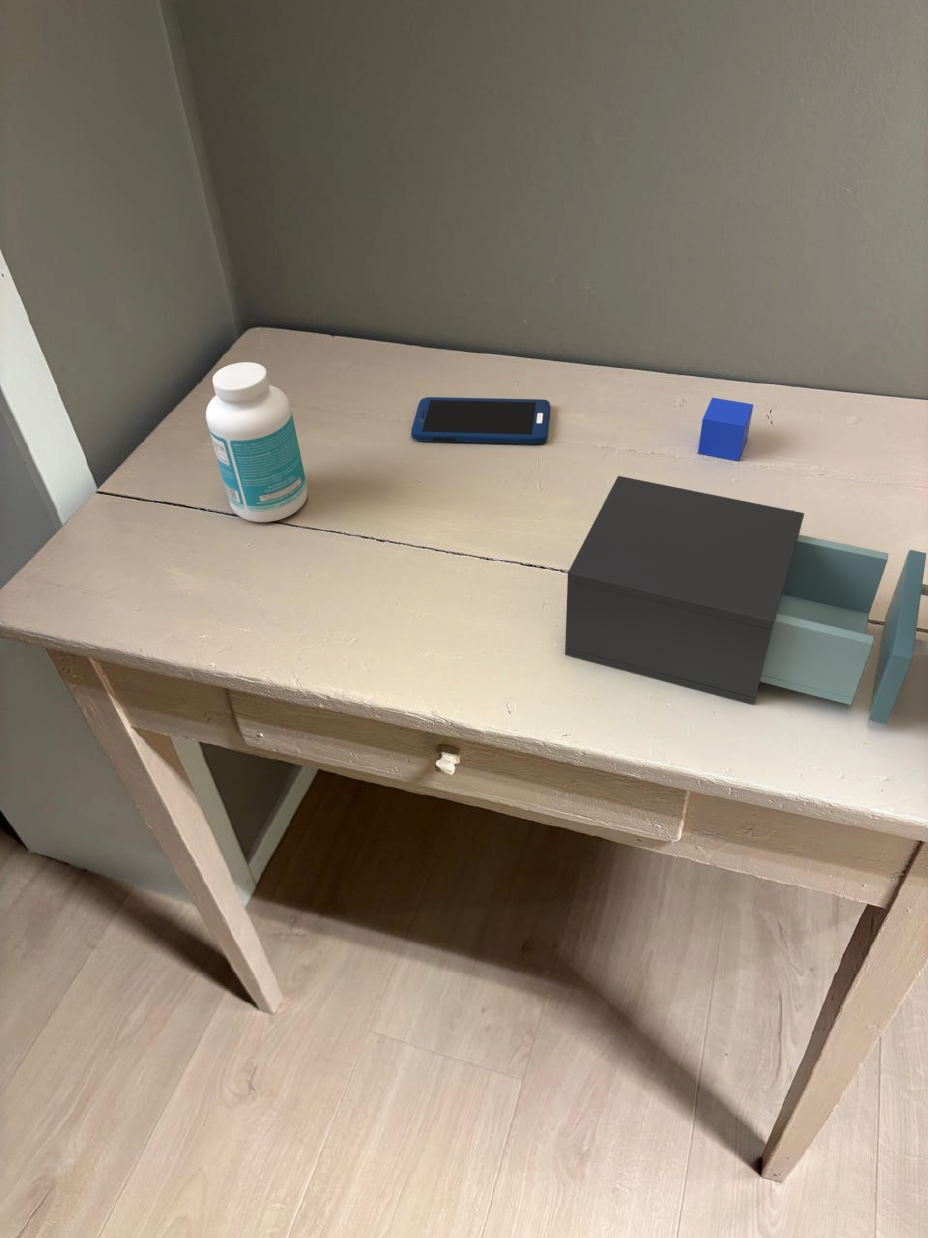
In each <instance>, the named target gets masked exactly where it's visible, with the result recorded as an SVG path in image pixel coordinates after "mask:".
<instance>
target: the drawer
mask: <svg viewBox="0 0 928 1238" xmlns="http://www.w3.org/2000/svg"><path fill="white" fill-rule="evenodd" d="M888 560H889V553H888V552H884V551H880V550H875V549H871V548H865V547H860V546H855V545H852V544H851V545H850V544H846V543H841V542H836V541H832V540H827V539H823V538H817V537H812V536H808V535H804V534H799V535H798V539H797V542H796V546H795V550H794V553H793V557H792V560H791V564H790V567H789V571H788V575H787V578H786V582H785V585H784V589H783V592H782V596H781V600H780V603H779V607H778V610H777V614H776V617H775V621H774V625H773V629H772V633H771V637H770V641H769V645H768V649H767V653H766V657H765V661H764V665H763V669H762V674H761V678H760V683H763V684H768V685H771V686H775V687H778V688H782V689H787V690H791V691H795V692H798V693H802V694H807V695H809V696H814V697H818V698H822V699H826V700H829V701H834V702H836V703H837V702H838V703H842V704H845V705H849V706H851V705H852V704H853V702H854V699H855V696H856V693H857V690H858V688H859V685H860V682H861V680H862V676H863V673H864V671H865V668H866V665H867V662H868V661H869V657H870V654H871V651H872V649H873V645H874V640H875V636H874V635H870V634H866V633H867V628H868V623H869V617H870V614H871V610H872V607H873V605H874V601H875V599H876V595H877V593H878V589H879V587H880V583H881V581H882V577H883V575H884V572H885V569H886V567H887V563H888ZM926 560H927V552H923V551H918V550H915V549H909V550H908V552H907V555H906V557H905V560H904V563H903V566H902V569H901V572H900V574H899V578H898V580H897V583H896V586H895V589H894V591H893V594H892V597H891V600H890V603H889V606H888V607H887V611H886V613H885V618H884V624H883V628H882V629H883V631H882V635H881V642H880V648H879V653H878V660H877V666H876V671H875V678H874V684H873V691H872V696H871V703H870V709H869V712H868V713H869V715H868V721H870V722H874V723H878V724H882V725H887V724H888V721H889V719H890V716H891V713H892V711H893V709H894V706H895V703H896V701H897V699H898V696H899V693H900V691H901V688H902V686H903V683H904V682H905V679H906V676H907V674H908V672H909V669H910V666H911V664H912V661H913V658H914V652H917V653H921V654H925V655H928V641H925V640H921V639H917V638H916V636H917V628H918V619H919V613H920V606H921V597H922V596H924V597H928V584H925V583H924V575H925V567H926Z"/></svg>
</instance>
